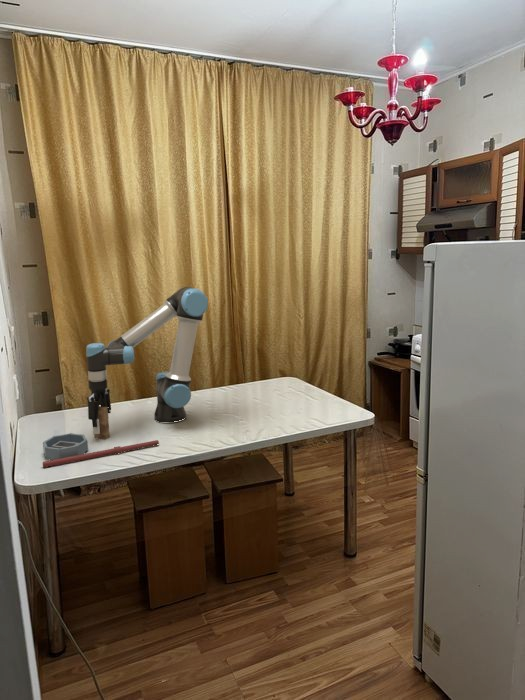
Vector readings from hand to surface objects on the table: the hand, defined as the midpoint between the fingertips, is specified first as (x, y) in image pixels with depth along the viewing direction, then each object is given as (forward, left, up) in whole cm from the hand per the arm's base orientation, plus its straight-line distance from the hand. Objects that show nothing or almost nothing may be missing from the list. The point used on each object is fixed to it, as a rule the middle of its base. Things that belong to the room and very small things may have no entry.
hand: (101, 430), depth 223 cm
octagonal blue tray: (+5, +18, -3) cm, 19 cm away
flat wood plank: (0, 0, -3) cm, 3 cm away
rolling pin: (-12, +17, -4) cm, 21 cm away
